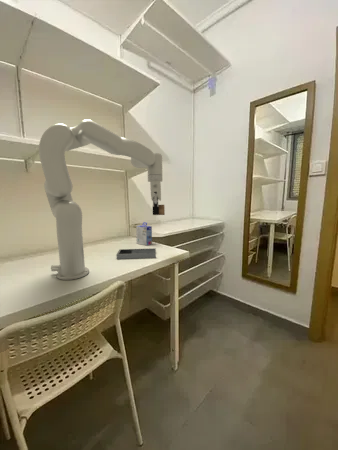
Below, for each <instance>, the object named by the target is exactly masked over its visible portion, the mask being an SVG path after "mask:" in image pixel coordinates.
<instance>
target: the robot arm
mask: <svg viewBox="0 0 338 450" xmlns="http://www.w3.org/2000/svg"><path fill="white" fill-rule="evenodd" d="M90 144H91V145H93V146H95V147H97V148H99V149H101V150H103V151H104V152H107V153H109V154H111V155H115V156H125V157H127V158H128V157H129V158H130V164H131V165H132V166H133V167H134V168H136V169H146V168H147V182H150V184H149V185H150V187H149V188H150V200H151V201H152V216H159V215H158V214H159V207H158V205H159V201H160V202H161V201H162V183H161V182H163V155H162V153H158V152H153V151H152V150H151V149H150V148H149V147H147V146H146V145H144V144H142V143H140V142H139V141H138V142H137V141H136V140H132V139H129V138H127V137H124V136H120V135H118V134H116V133H115V132H113V131H111V130H110V129H107V128H106V127H105V126H104V125H101V124H100V123H97V122H96V121H93V120H91V119H86V118H85V119H83V120H81V121H80V122H79V123H78V124H77V125H75V126H73V127H70V126H68V125H67V124H64V123H55V124H53V125H51V126H49V127H48V128H47V129H45V131H44V132H43V134H42V136H41V137H40V140H39V145H38V156H39V160H40V164H41V168H42V172H43V174H44V175H43V176H44V179H45V180H44V185H43V187H44V190H45V196H46V198H47V201H48V204H49V207H50V211H51V212H52V215H53V216H54V218H55V221H56V239H57V247H58V248H57V249H58V258H59V259H58V260H59V264H57V265H55V264H53V265H51V266H50V271H51V272H57V273H56V277H57V279H58V280H63V281H70V280H71V281H72V280H76V279H79V278H80V279H81V278H83V277H85V276H87V275H89V272H90V269H89V268H88V267H86V265H85V254H84V252H85V250H84V241H83V238H84V237H83V212H82V209H81V206H80V205H79V204H78V203H77V202H75V201H74V200H73V196H72V191H73V187H74V186H73V182H72V179H71V176H70V172H69V169H68V167H67V161H66V152H68V151H71V150H75V149H79V148H82V147H85V146H89V145H90Z"/></svg>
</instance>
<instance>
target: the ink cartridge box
mask: <svg viewBox="0 0 338 450" xmlns="http://www.w3.org/2000/svg"><path fill="white" fill-rule="evenodd" d="M135 227H136V228H135V229H136V232H135V233H136V235H135V236H136V244H138V245H142V246H151V245H153V233H152V232H153V231H152V230H153V229H152V228H153V226H150V225H148V222H145V221H143V222H142V225H137V226H135Z"/></svg>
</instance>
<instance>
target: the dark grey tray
mask: <svg viewBox="0 0 338 450" xmlns="http://www.w3.org/2000/svg"><path fill="white" fill-rule="evenodd" d="M156 254H157V248H155V247H153V248H127V249H126V248H125V249H118V251H117V252H116V255H115V256H116V259H117V260H130V259H131V260H132V259H133V260H134V259H135V260H137V259H156V258H157V255H156Z"/></svg>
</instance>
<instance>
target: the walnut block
mask: <svg viewBox="0 0 338 450" xmlns="http://www.w3.org/2000/svg"><path fill="white" fill-rule="evenodd" d="M158 207H159V214H158V215H157V216H165V211H166V210H165V209H166V208H165V204H158Z"/></svg>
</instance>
